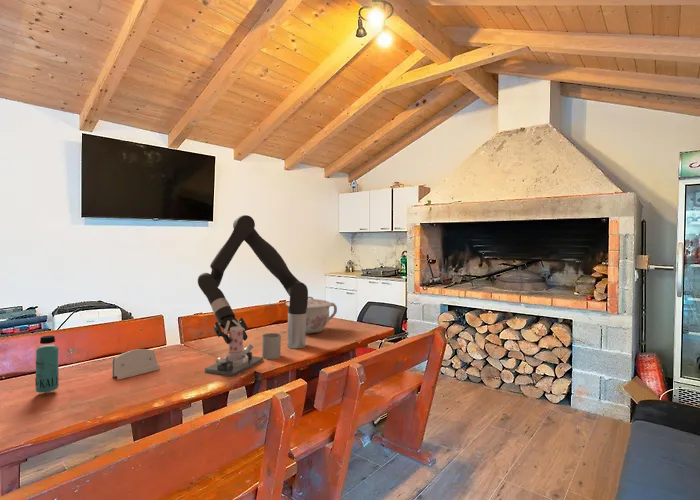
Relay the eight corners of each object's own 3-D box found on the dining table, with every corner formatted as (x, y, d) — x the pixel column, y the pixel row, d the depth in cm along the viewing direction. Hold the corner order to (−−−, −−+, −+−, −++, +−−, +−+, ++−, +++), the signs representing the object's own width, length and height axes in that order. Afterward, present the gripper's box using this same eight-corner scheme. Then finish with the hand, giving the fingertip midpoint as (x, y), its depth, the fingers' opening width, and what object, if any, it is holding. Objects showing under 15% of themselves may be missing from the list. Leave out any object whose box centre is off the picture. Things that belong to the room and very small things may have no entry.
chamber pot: (276, 334, 226) (277, 298, 225) (296, 324, 252) (297, 292, 252) (322, 339, 218) (323, 301, 217) (338, 328, 244) (339, 295, 243)
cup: (283, 355, 186) (284, 334, 186) (273, 360, 179) (273, 338, 178) (269, 353, 190) (269, 332, 189) (258, 357, 182) (258, 336, 182)
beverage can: (234, 365, 166) (235, 330, 165) (225, 362, 169) (226, 328, 168) (244, 362, 170) (246, 328, 169) (235, 359, 173) (237, 325, 172)
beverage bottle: (43, 389, 140) (43, 333, 139) (63, 389, 140) (63, 333, 140) (30, 397, 133) (30, 338, 132) (51, 397, 134) (51, 338, 133)
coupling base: (237, 356, 183) (237, 342, 183) (264, 360, 178) (264, 345, 178) (203, 372, 161) (203, 356, 160) (232, 377, 156) (233, 360, 156)
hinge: (116, 379, 151) (113, 353, 152) (112, 381, 154) (108, 355, 155) (160, 369, 164) (156, 345, 166) (155, 370, 167) (151, 346, 168)
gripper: (211, 307, 168) (226, 339, 161) (239, 303, 179) (255, 333, 172) (204, 318, 171) (219, 349, 164) (232, 313, 182) (247, 343, 175)
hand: (237, 341), depth 168 cm, fingers open, 8 cm apart
